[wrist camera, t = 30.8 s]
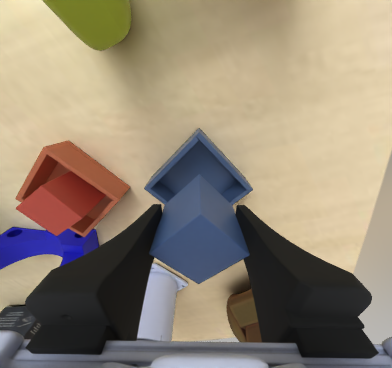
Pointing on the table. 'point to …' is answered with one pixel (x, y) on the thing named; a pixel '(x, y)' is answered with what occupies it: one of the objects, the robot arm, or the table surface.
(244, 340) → the wooden toy train
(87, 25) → the dumbbell
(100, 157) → the table surface
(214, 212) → the blue block
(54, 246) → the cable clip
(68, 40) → the table surface
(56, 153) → the red tray
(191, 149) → the blue tray
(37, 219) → the red block
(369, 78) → the table surface
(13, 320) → the box
